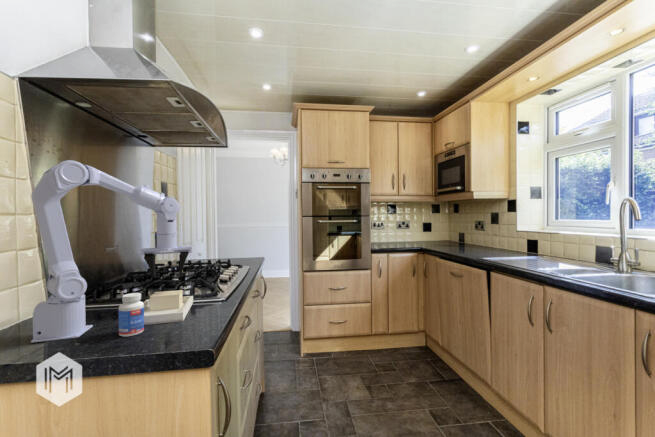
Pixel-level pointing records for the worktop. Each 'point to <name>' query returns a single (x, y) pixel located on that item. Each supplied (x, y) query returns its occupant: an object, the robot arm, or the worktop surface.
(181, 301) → the egg box
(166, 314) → the white tray
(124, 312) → the pill bottle
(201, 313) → the worktop surface
